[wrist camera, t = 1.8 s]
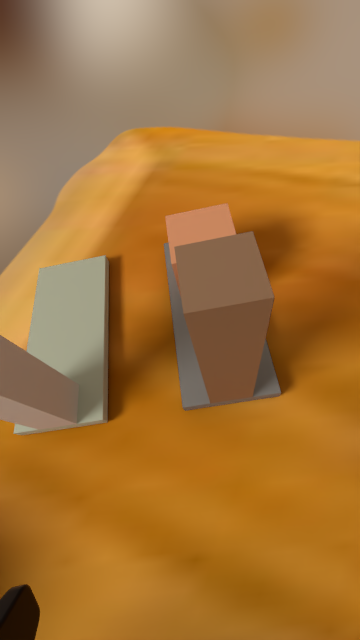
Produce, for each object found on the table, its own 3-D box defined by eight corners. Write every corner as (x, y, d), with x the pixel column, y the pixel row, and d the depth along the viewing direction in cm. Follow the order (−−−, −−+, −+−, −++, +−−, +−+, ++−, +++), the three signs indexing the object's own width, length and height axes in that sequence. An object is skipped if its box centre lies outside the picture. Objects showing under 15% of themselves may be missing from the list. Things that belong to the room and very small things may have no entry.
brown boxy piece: (279, 396, 22) (337, 286, 9) (184, 410, 22) (125, 324, 10) (234, 236, 29) (235, 65, 17) (165, 250, 30) (119, 93, 18)
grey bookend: (107, 422, 23) (-39, 353, 10) (21, 435, 23) (-211, 384, 11) (108, 261, 30) (26, 116, 18) (44, 274, 31) (-77, 142, 19)
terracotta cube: (239, 290, 25) (240, 250, 21) (181, 300, 26) (171, 264, 21) (228, 246, 28) (227, 203, 23) (175, 257, 28) (165, 216, 24)
